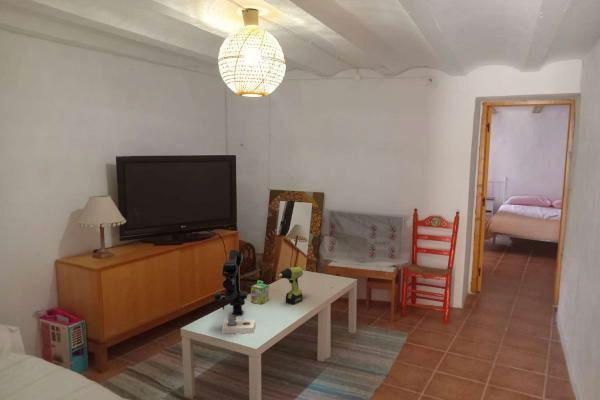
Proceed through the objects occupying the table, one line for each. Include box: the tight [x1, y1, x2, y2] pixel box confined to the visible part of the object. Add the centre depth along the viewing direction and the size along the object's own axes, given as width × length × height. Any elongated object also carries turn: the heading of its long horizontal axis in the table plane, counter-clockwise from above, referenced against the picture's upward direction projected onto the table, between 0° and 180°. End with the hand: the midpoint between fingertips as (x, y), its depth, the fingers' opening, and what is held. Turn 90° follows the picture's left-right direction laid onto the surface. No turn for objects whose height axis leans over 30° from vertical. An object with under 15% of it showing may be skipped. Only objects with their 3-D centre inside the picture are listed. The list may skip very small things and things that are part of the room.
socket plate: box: [221, 319, 256, 334], centre depth 259 cm, size 12×18×3 cm, turn 91°
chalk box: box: [250, 279, 270, 305], centre depth 303 cm, size 9×9×15 cm
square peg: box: [227, 314, 237, 326], centre depth 258 cm, size 4×4×8 cm
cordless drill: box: [278, 266, 304, 306], centre depth 297 cm, size 23×7×25 cm, turn 142°
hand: (231, 309), depth 258 cm, fingers open, 9 cm apart
